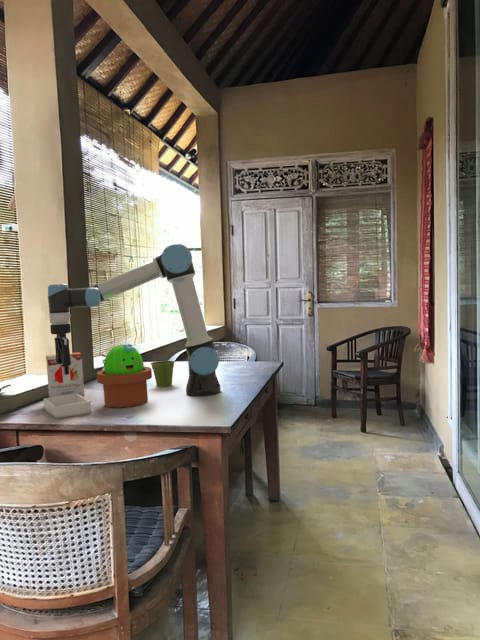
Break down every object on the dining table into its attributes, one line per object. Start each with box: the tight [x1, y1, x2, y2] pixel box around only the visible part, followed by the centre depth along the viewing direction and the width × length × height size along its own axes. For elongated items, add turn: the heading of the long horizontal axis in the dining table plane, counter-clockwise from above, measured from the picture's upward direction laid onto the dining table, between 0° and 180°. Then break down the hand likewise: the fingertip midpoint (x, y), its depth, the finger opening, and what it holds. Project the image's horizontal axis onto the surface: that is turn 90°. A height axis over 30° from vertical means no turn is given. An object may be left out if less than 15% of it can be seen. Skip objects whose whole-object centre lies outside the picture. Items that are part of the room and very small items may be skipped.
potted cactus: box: [96, 343, 153, 409], centre depth 207 cm, size 22×22×25 cm
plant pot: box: [149, 360, 176, 388], centre depth 242 cm, size 12×12×11 cm
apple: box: [54, 367, 74, 383], centre depth 198 cm, size 7×7×8 cm
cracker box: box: [45, 352, 86, 398], centre depth 215 cm, size 14×6×21 cm, turn 118°
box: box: [43, 393, 92, 420], centre depth 199 cm, size 20×13×4 cm, turn 32°
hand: (64, 381), depth 199 cm, fingers closed on apple, 7 cm apart
